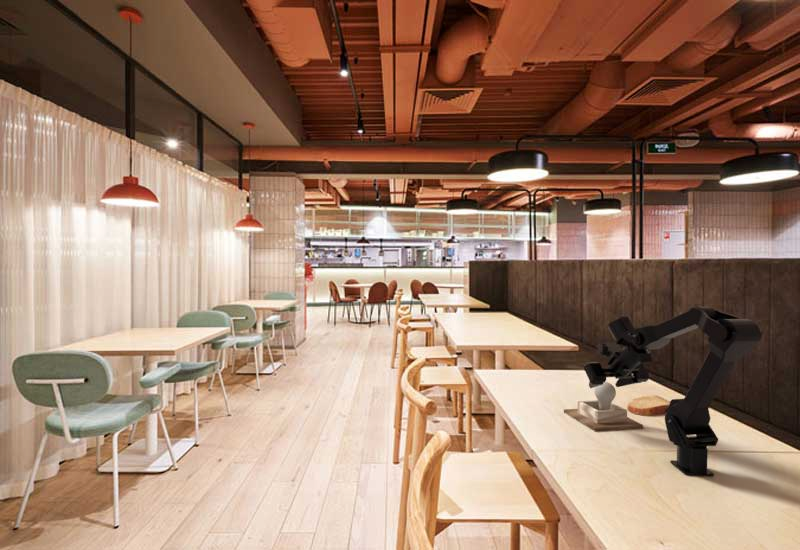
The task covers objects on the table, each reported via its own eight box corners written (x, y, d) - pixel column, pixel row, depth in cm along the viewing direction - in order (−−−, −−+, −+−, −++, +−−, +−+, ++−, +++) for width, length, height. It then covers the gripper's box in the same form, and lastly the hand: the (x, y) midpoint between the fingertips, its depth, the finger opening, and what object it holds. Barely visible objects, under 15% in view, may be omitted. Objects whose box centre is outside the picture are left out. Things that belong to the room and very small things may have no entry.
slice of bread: (630, 415, 140) (631, 404, 140) (620, 399, 157) (620, 389, 157) (694, 422, 134) (695, 410, 134) (676, 405, 152) (677, 394, 151)
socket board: (642, 428, 128) (643, 413, 128) (594, 431, 125) (594, 415, 125) (607, 410, 144) (607, 396, 144) (563, 412, 141) (564, 398, 141)
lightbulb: (611, 422, 130) (613, 386, 130) (590, 417, 134) (591, 382, 134) (617, 416, 135) (618, 381, 134) (596, 411, 139) (597, 378, 138)
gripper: (643, 334, 130) (617, 363, 141) (587, 335, 126) (565, 364, 137) (663, 366, 122) (634, 394, 133) (604, 368, 119) (580, 396, 130)
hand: (603, 386), depth 134 cm, fingers open, 9 cm apart
